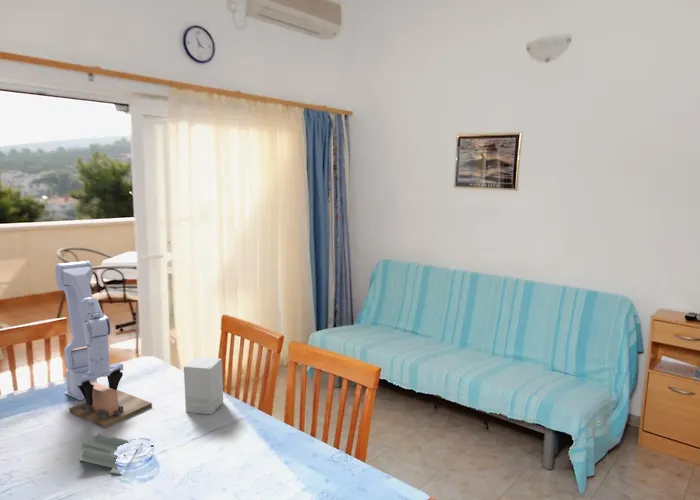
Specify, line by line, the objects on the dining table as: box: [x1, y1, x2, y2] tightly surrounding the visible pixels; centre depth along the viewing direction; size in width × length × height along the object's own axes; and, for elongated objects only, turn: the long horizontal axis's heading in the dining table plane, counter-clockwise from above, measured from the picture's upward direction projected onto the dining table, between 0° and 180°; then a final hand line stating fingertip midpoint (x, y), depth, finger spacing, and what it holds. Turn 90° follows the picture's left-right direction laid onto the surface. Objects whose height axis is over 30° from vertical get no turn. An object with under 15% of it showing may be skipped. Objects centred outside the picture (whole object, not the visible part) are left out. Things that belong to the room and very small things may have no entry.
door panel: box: [91, 382, 119, 417], centre depth 156 cm, size 12×3×7 cm, turn 59°
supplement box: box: [183, 356, 224, 415], centre depth 161 cm, size 9×9×15 cm
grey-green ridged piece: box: [75, 433, 134, 476], centre depth 133 cm, size 14×6×15 cm
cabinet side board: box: [68, 389, 153, 429], centre depth 159 cm, size 18×16×3 cm
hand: (101, 399), depth 156 cm, fingers open, 7 cm apart
